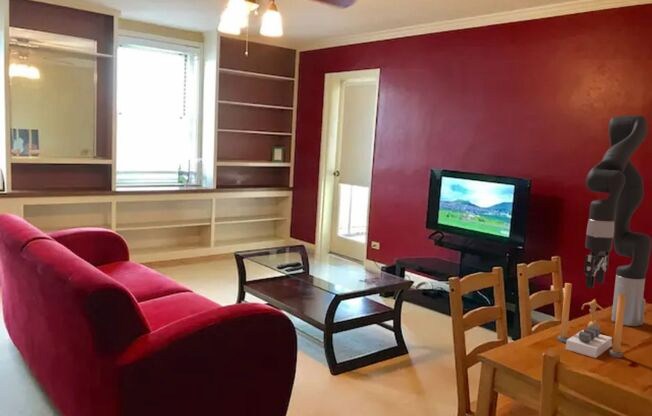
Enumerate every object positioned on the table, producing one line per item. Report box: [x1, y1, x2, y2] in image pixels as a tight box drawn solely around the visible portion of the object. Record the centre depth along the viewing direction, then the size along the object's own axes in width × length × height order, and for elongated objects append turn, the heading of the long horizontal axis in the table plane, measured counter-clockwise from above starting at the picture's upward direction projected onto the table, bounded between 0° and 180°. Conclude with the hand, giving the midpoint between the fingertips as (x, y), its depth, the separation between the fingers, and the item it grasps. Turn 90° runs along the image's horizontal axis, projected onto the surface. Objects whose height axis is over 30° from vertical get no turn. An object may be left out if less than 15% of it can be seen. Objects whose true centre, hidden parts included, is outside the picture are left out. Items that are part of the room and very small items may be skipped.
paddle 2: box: [587, 325, 601, 337], centre depth 176 cm, size 2×3×2 cm, turn 45°
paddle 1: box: [578, 330, 591, 343], centre depth 170 cm, size 2×3×2 cm, turn 45°
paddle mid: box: [583, 327, 596, 340], centre depth 173 cm, size 2×3×2 cm, turn 45°
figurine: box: [581, 298, 608, 329], centre depth 187 cm, size 8×6×12 cm
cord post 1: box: [557, 282, 573, 344], centre depth 178 cm, size 4×4×19 cm
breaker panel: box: [565, 329, 613, 359], centre depth 174 cm, size 14×9×3 cm, turn 135°
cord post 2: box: [608, 294, 626, 359], centre depth 167 cm, size 4×4×19 cm
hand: (594, 285), depth 171 cm, fingers open, 8 cm apart
